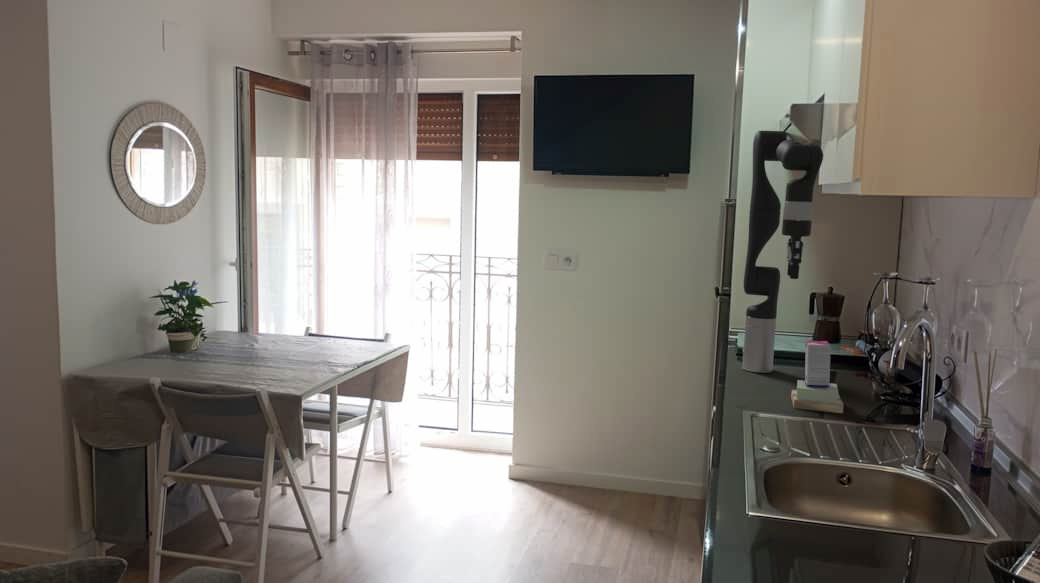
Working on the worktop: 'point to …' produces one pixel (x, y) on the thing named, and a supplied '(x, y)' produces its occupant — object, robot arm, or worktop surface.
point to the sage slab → (817, 393)
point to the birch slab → (816, 404)
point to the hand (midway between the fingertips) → (792, 277)
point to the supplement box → (817, 364)
